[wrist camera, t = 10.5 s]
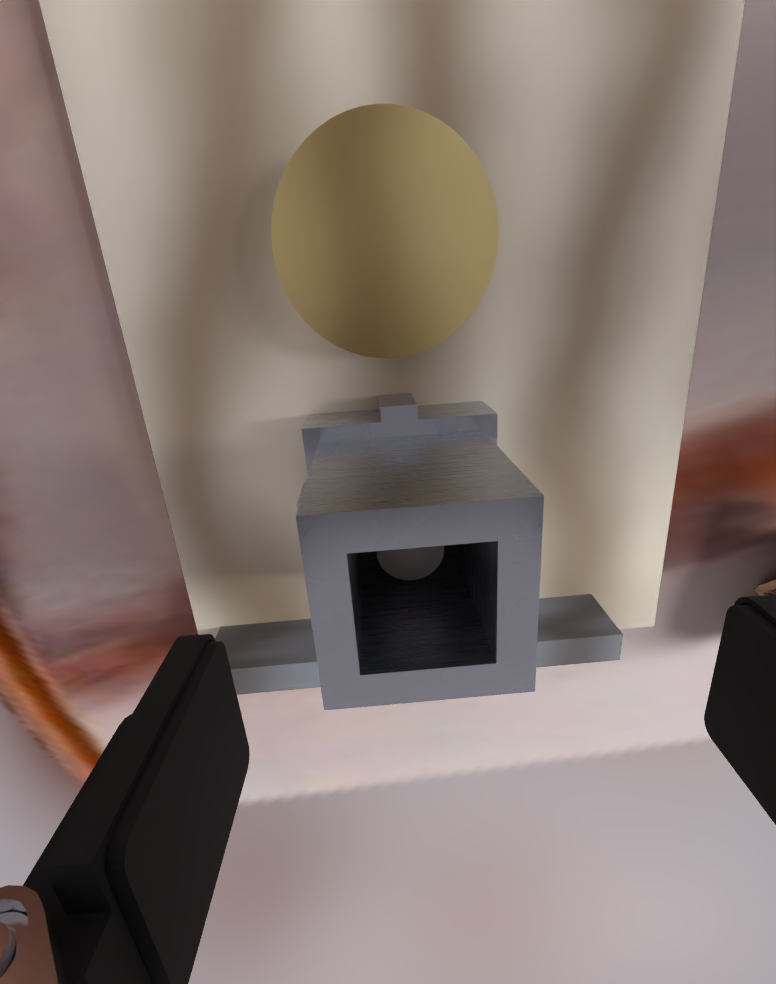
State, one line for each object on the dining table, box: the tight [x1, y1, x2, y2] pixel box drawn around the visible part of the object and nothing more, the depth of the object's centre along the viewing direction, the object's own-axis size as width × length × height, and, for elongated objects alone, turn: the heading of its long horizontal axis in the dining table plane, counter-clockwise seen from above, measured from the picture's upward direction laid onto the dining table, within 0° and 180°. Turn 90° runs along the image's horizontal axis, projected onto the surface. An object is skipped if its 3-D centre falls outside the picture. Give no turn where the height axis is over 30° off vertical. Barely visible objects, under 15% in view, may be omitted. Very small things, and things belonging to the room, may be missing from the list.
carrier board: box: [39, 0, 745, 695], centre depth 16 cm, size 20×24×6 cm
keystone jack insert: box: [296, 393, 544, 710], centre depth 16 cm, size 7×7×8 cm
